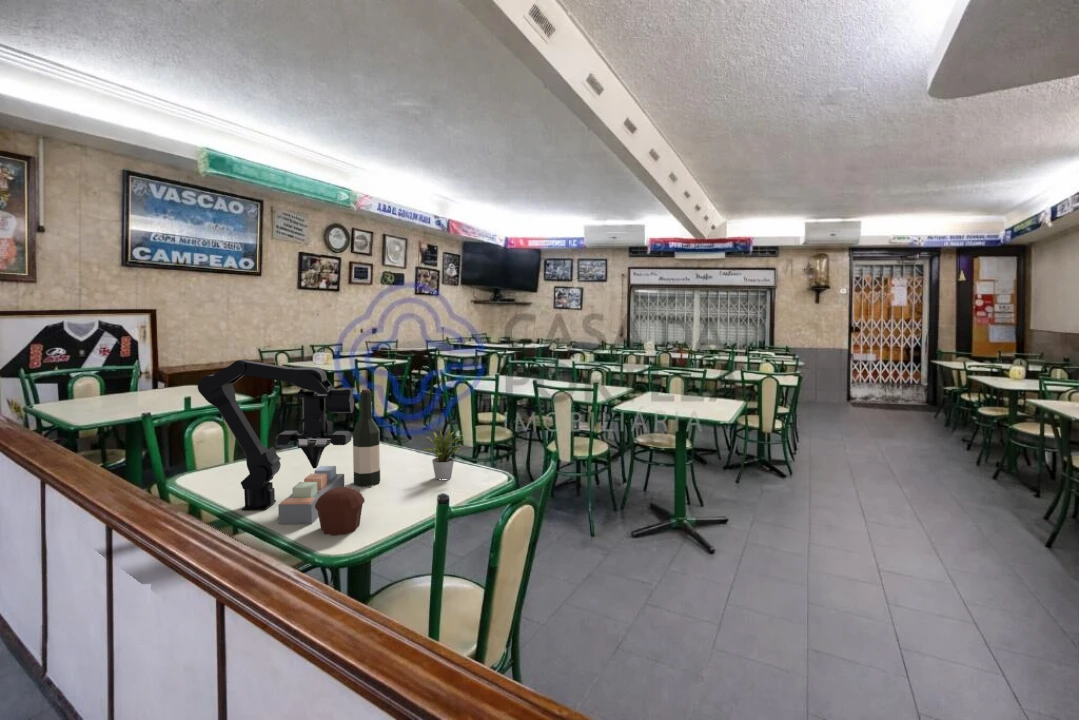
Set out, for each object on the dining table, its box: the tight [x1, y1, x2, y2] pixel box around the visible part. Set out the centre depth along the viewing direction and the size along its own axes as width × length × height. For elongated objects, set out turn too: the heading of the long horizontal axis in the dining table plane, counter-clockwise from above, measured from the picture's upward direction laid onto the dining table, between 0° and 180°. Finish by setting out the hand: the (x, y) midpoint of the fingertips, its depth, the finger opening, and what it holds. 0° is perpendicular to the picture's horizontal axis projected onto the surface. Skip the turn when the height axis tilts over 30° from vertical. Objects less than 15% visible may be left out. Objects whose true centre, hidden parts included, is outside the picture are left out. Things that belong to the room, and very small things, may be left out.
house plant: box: [423, 429, 466, 481], centre depth 168 cm, size 14×14×16 cm
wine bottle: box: [352, 388, 381, 488], centre depth 163 cm, size 8×8×30 cm
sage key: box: [292, 481, 317, 498], centre depth 137 cm, size 5×5×4 cm
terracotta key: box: [303, 473, 327, 490], centre depth 145 cm, size 5×5×4 cm
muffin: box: [315, 486, 365, 537], centre depth 129 cm, size 12×11×10 cm
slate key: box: [314, 465, 337, 481], centre depth 152 cm, size 5×5×4 cm
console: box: [277, 473, 346, 525], centre depth 144 cm, size 8×26×6 cm, turn 3°
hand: (315, 468), depth 144 cm, fingers closed
